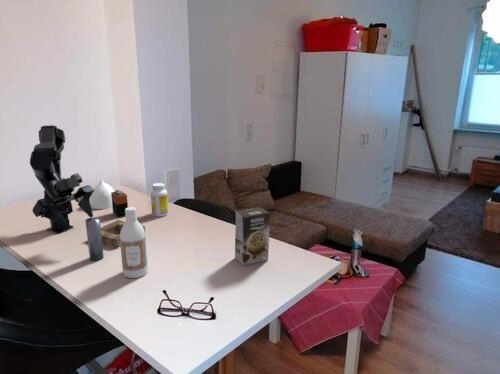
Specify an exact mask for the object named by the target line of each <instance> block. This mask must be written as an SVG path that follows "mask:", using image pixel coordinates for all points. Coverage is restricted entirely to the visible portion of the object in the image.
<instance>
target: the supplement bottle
mask: <svg viewBox="0 0 500 374" xmlns="http://www.w3.org/2000/svg"><path fill="white" fill-rule="evenodd" d="M168 196H169V195H168V191H167V189H165V184H164V183H162V182H155V183H152V190H150V201H151V202H150V203H151V214H152V216H154V217H157V218H159V217H165V216H167V215H168V214H169V198H168Z"/></svg>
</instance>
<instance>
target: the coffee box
mask: <svg viewBox="0 0 500 374" xmlns="http://www.w3.org/2000/svg"><path fill="white" fill-rule="evenodd" d="M270 218H271V212H269V211H268V210H266V209H264V208H263V207H261V206H260V207H251V208H245V209H241V210H235V234H234V235H235V239H234V240H235V241H234V258H235V259H236V260H237V262H239V263H240V264H241V265H242V267H243V266H244V267H245V266H249V265H252V264H256V263H261V262H266V261H269V249H270V245H269V244H270V222H271V219H270Z"/></svg>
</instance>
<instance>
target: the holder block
mask: <svg viewBox="0 0 500 374" xmlns="http://www.w3.org/2000/svg"><path fill="white" fill-rule="evenodd" d="M125 222H126V221H123V220H119V219H117V220H115V221H112V222H110V223H108V224H105V225H104V226H100V228H101V237H102V243H104V244H103V245H106V244H107V245H106V246H109V245H111V246H110V247H113V246H114V247H113V248H116V247H117V249H120V248H121V245H120V232H121V229H122V227H123V225H124V224H125ZM142 227H143V229H144V231H145V232H146V227H145V226H144V225H142ZM117 233H119V234H117ZM119 247H120V248H119Z"/></svg>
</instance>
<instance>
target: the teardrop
mask: <svg viewBox="0 0 500 374" xmlns="http://www.w3.org/2000/svg"><path fill="white" fill-rule="evenodd" d="M93 190H94V192H93V193H92V195H91V197H90V205H91V209H94V210H105V209H107V210H108V209H113V207H112V197H111V193H112V192H115V190H114V189H113V187H112V186H111V185H110V184H108V183H107V182H104V180H103V179H102V178H101V179H100V181H99V183H98V184H97V185H95V186H94V188H93Z"/></svg>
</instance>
